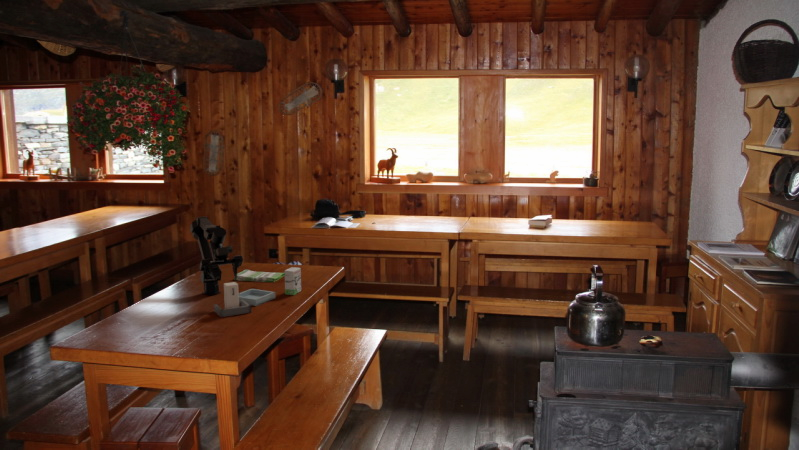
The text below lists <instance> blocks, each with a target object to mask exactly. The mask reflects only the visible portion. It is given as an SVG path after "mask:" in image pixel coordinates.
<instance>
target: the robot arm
mask: <svg viewBox="0 0 799 450" xmlns="http://www.w3.org/2000/svg"><path fill="white" fill-rule="evenodd" d="M189 226H190V227H189V230H190V233H191V235H192V237H193V238H194V240H196V241H197V243H198V248H199V250H200V255H201V260H200V263H199V270H200V276H199V277H200V282H202V284H203V287H204V288H203V290H204V291H203V292H201V295H207V296H214V295H217V294H220V293H222V292H221V290H219V289H220V288H219V286H220V285H219V282H221V280H222V272H223V271H222V270H221V268H220V266H223V265H231V266H232V272H233V276H234V278H236V277H237V274H238V269H239V268H240V267H241V266H242V265H243V263H244V256H242V255H241V254H239V255H233V257H232V258H231V259H228V258H229V254H232V253H233V251H234V250H233V247H232V245H226V246H224V244H223V243H224V242H225V239H226V236H227V230H226V228H224V227H221V225H220V224H218V225H215V224H213V223H212V222H211V221H210V220H209V217H208V216H198V217H196V219H195V220H193V221H192V222H191V224H190V225H189ZM208 240H209V241H208Z"/></svg>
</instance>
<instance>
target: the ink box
mask: <svg viewBox="0 0 799 450" xmlns="http://www.w3.org/2000/svg"><path fill="white" fill-rule="evenodd" d="M284 273H285V276H284V292H285V293H284V295H288V296H289V295H290V296H295V295H297V294H298V293H300V292H301V291H302V269H301V267H295V266H294V267H293V266H291V267H290V268H286V269H285V270H284Z"/></svg>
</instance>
